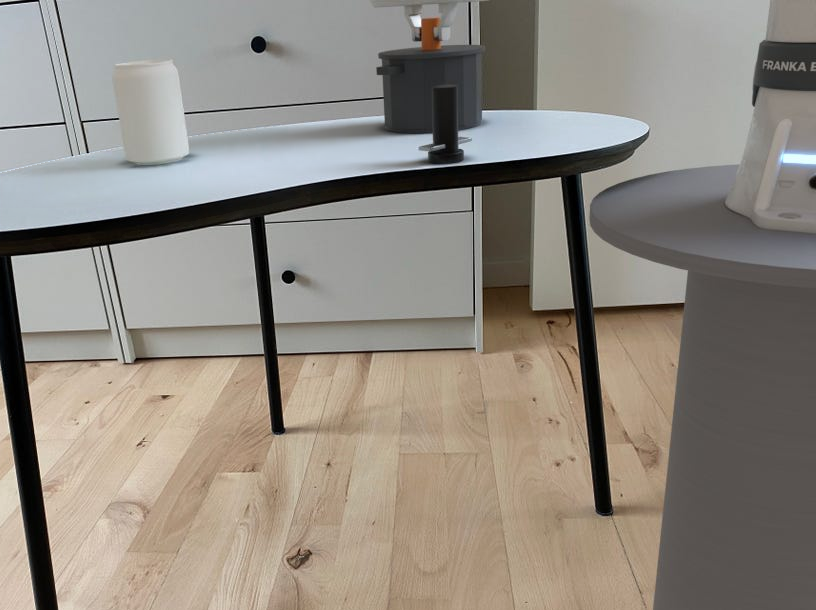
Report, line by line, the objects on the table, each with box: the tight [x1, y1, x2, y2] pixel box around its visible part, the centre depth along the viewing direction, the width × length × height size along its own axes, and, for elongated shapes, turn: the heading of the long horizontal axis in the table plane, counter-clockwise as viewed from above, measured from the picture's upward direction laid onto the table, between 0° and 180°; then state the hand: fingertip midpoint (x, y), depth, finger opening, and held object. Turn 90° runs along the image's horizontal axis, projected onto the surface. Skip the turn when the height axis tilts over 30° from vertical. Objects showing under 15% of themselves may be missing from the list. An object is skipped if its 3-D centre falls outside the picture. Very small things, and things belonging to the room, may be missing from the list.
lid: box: [377, 17, 486, 60], centre depth 113 cm, size 15×15×5 cm
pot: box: [375, 52, 483, 134], centre depth 116 cm, size 14×19×10 cm
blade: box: [418, 85, 473, 165], centre depth 92 cm, size 7×4×8 cm, turn 132°
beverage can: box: [111, 58, 190, 166], centre depth 105 cm, size 8×8×12 cm
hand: (430, 41), depth 114 cm, fingers closed on lid, 2 cm apart
